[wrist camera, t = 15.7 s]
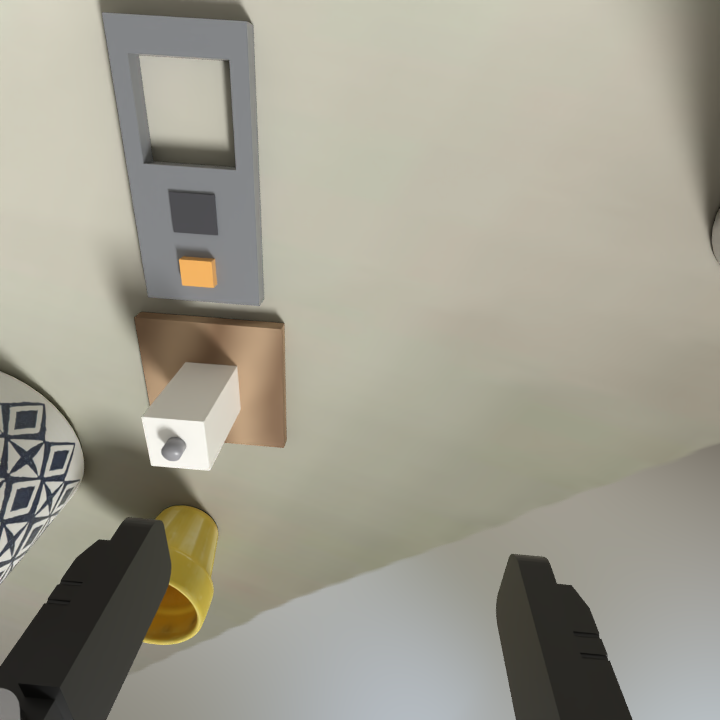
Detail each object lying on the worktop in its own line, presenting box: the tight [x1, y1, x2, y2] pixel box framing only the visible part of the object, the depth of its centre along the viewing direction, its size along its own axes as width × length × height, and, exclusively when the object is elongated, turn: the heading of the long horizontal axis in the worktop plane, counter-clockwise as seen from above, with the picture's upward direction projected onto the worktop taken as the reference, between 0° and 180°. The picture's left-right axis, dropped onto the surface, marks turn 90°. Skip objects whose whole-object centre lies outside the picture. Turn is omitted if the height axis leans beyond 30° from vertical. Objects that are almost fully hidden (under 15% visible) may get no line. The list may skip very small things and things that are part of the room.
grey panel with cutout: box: [102, 12, 264, 306], centre depth 33 cm, size 9×18×2 cm, turn 177°
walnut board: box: [134, 312, 287, 448], centre depth 42 cm, size 12×12×1 cm
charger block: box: [142, 362, 241, 471], centre depth 37 cm, size 4×4×9 cm
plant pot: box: [143, 505, 218, 645], centre depth 47 cm, size 10×10×10 cm
